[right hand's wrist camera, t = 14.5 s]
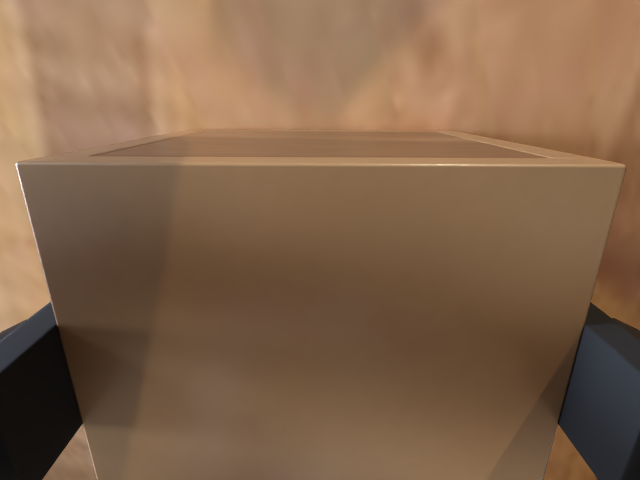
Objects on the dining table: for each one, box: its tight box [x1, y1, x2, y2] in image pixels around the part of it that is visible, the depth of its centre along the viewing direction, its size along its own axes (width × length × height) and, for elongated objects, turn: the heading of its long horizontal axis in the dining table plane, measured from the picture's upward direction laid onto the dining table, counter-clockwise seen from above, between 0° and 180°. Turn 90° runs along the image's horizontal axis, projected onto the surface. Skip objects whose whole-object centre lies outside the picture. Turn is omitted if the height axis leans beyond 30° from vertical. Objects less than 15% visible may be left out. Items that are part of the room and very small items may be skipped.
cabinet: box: [16, 129, 626, 480], centre depth 15 cm, size 21×11×10 cm, turn 0°
